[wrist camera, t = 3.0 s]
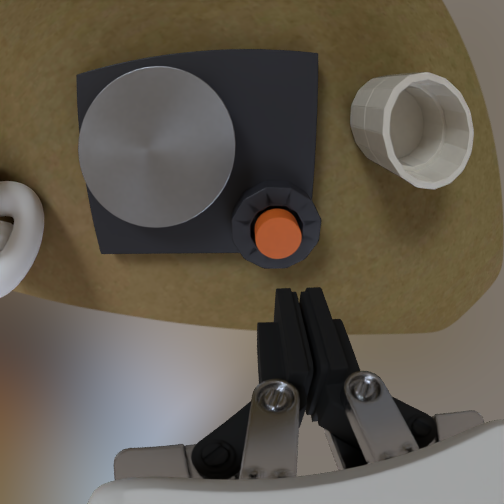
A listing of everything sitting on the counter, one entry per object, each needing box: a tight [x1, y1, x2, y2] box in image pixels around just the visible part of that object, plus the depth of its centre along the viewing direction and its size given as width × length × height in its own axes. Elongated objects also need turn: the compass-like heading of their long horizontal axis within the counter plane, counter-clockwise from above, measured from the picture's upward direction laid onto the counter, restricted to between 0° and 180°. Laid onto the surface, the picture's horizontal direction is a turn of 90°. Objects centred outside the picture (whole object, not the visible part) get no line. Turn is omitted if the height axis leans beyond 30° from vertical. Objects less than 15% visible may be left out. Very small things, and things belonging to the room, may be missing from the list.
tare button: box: [255, 208, 302, 259], centre depth 18 cm, size 3×3×2 cm
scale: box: [77, 49, 321, 268], centre depth 17 cm, size 16×14×3 cm
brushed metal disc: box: [78, 66, 236, 228], centre depth 15 cm, size 10×10×1 cm
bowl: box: [350, 72, 474, 189], centre depth 15 cm, size 7×7×6 cm
